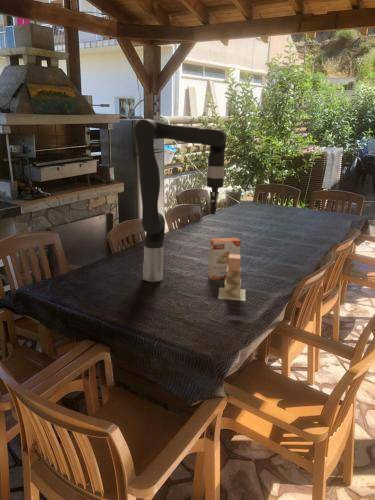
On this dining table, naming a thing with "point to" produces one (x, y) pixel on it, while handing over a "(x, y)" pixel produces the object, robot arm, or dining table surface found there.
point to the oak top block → (233, 277)
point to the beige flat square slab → (221, 296)
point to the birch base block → (232, 290)
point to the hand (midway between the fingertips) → (213, 211)
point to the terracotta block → (234, 262)
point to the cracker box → (221, 256)
